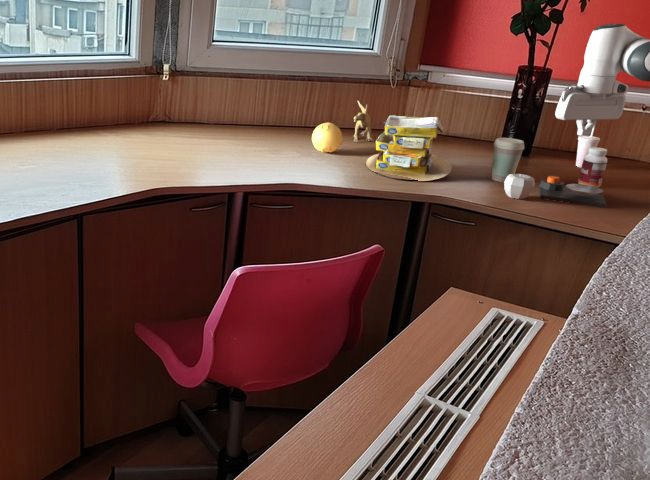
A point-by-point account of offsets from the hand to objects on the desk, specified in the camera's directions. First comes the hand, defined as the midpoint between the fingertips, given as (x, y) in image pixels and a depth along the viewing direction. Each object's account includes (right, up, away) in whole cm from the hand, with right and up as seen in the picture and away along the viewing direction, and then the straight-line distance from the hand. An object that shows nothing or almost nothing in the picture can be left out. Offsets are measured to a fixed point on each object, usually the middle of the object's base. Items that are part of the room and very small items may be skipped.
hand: (583, 135), depth 203 cm
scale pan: (-4, -16, -7) cm, 18 cm away
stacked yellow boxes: (-44, -8, +18) cm, 48 cm away
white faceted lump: (-22, -18, -5) cm, 29 cm away
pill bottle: (+8, -13, +11) cm, 19 cm away
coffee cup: (-18, -11, +12) cm, 24 cm away
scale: (-5, -18, -3) cm, 19 cm away
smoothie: (+18, -5, +33) cm, 38 cm away
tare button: (-8, -14, +1) cm, 16 cm away
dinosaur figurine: (-48, +9, +59) cm, 76 cm away
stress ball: (-66, +1, +37) cm, 75 cm away
